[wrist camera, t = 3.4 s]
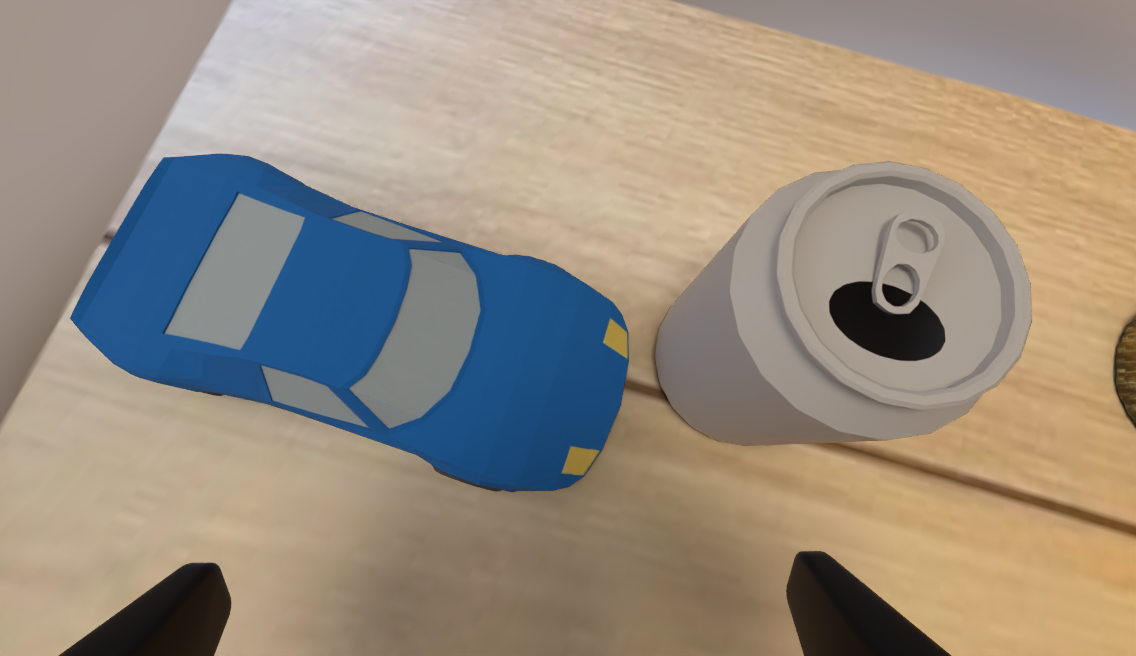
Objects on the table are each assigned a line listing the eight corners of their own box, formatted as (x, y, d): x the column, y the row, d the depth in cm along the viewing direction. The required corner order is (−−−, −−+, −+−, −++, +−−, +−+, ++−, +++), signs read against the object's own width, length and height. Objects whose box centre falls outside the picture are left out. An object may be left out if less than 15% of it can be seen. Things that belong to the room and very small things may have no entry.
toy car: (580, 518, 22) (591, 536, 17) (129, 365, 23) (15, 341, 18) (642, 312, 24) (668, 277, 19) (230, 178, 25) (154, 111, 20)
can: (629, 412, 23) (718, 371, 12) (676, 262, 25) (795, 94, 13) (792, 470, 23) (1050, 487, 11) (828, 314, 25) (1084, 189, 13)
